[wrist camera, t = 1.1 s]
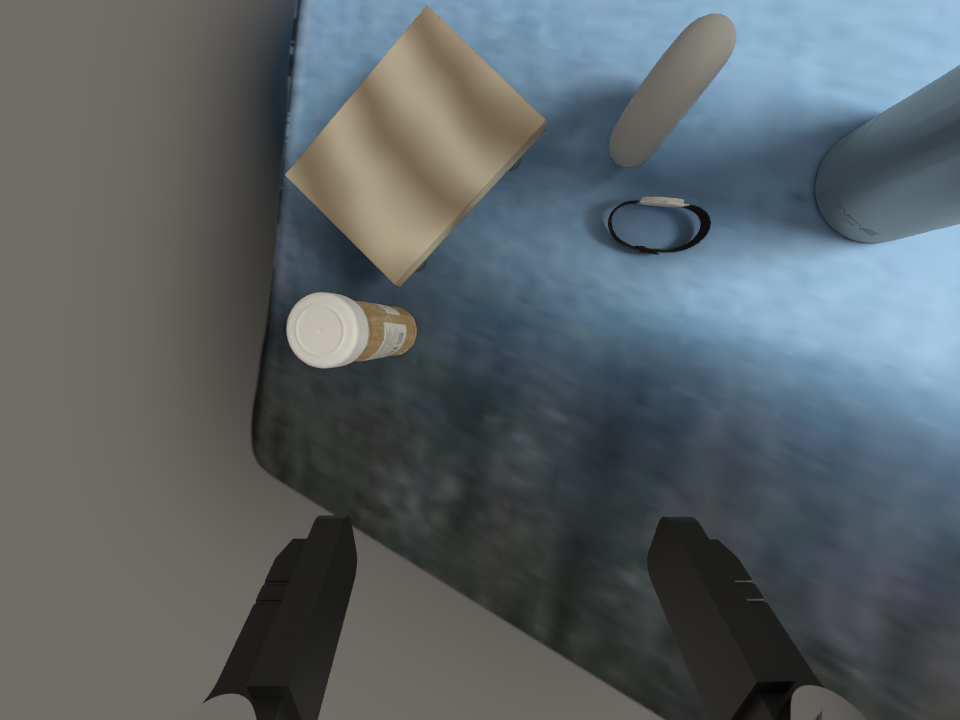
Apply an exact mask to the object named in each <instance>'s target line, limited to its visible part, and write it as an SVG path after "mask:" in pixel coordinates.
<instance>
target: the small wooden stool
mask: <svg viewBox="0 0 960 720" xmlns="http://www.w3.org/2000/svg"><path fill="white" fill-rule="evenodd" d="M545 125H546V119H545V118H543V117H542V116H541V115H540V114H539V113H538V112H537V111H536V110H535V109H534V108H533V107H532V106H531V105H530V104H529V103H528V102H527V101H526V100H525V99H524V98H523V97H522V96H521V95H520V94H519V93H518V92H516V91H515V90H514V89H513V88H512V87H511V86H510V85H509V84H508V83H507V82H506V81H505V80H504V79H503V78H502V77H501V76H500V75H499V74H498V73H497V72H496V71H495V70H494V69H493V68H492V67H490V66H489V65H488V64H487V63H486V62H485V61H484V60H483V59H482V58H481V57H480V56H479V55H478V54H477V53H476V52H475V51H474V50H473V49H472V48H471V47H470V46H469V45H468V44H467V43H466V42H465V41H463V40H462V39H461V38H460V37H459V36H458V35H457V34H456V33H455V32H454V31H453V30H452V29H451V28H450V27H449V26H448V25H447V24H446V23H445V22H444V21H443V20H442V19H441V18H440V17H439V16H438V15H436V14H435V13H434V12H433V11H432V10H431V9H430V8H429V7H428V6H426V7H425V8H424V10H423V11H422V12H421V13H420V14H419V16H418V17H417V18H416V19H415V20H414V21H413V23H412V24H411V25H410V26H409V27H408V29H407V30H406V31H405V32H404V33H403V35H402V36H401V37H400V38H399V39H398V41H397V42H396V43H395V44H394V45H393V47H392V48H391V49H390V50H389V51H388V53H387V54H386V55H385V56H384V57H383V59H382V60H381V61H380V62H379V63H378V64H377V66H376V67H375V68H374V69H373V70H372V72H371V73H370V74H369V75H368V76H367V78H366V79H365V80H364V81H363V82H362V84H361V85H360V86H359V87H358V88H357V90H356V91H355V92H354V93H353V94H352V96H351V97H350V98H349V99H348V100H347V102H346V103H345V104H344V105H343V106H342V108H341V109H340V110H339V111H338V112H337V113H336V115H335V116H334V117H333V118H332V119H331V121H330V122H329V123H328V124H327V125H326V127H325V128H324V129H323V130H322V131H321V133H320V134H319V135H318V136H317V137H316V139H315V140H314V141H313V142H312V143H311V145H310V146H309V147H308V148H307V149H306V151H305V152H304V153H303V154H302V155H301V156H300V158H299V159H298V160H297V161H296V162H295V164H294V165H293V166H292V167H291V168H290V170H289V171H288V172H287V173H286V174H285V175H286V176H287V177H288V178H289V179H290V180H291V181H292V182H293V183H294V184H295V185H296V186H297V187H298V188H299V189H300V190H301V191H302V192H303V193H304V194H305V195H306V196H307V197H308V198H309V199H310V200H311V201H312V202H313V203H314V204H315V205H316V206H317V207H318V208H319V209H320V210H321V211H322V212H323V213H324V214H325V215H326V216H327V217H328V218H329V219H330V220H331V221H332V222H333V223H334V224H335V225H336V226H337V227H338V228H339V229H340V230H341V231H342V232H343V233H344V234H345V235H346V236H347V237H348V238H349V239H350V240H351V241H352V242H353V243H354V244H355V245H356V246H357V247H358V248H359V249H360V250H361V251H362V252H363V253H364V254H365V255H366V256H367V257H368V258H369V259H370V260H371V261H372V262H373V263H374V264H375V265H376V266H377V267H378V268H379V269H380V270H381V271H382V272H383V273H384V274H385V275H386V276H387V277H388V278H389V279H390V280H391V281H392V282H393V283H394V284H395V285H398V286H400V287H401V286H402V284H403V283H404V282H405V281H406V280H407V279H408V278H409V277H410V276H411V275H412V274H413V273H414V272H418V271H421V270H422V269H423V268H424V266H425V264H426V259H427V257H428V256H429V255H430V254H431V253H432V252H433V251H434V250H435V249H436V248H437V247H438V246H439V244H440V243H441V242H442V241H443V240H444V239H445V238H446V237H447V236H448V235H449V234H450V233H451V231H452V230H453V229H454V228H455V227H456V226H457V225H458V224H459V223H460V222H461V221H462V220H463V219H464V217H465V216H466V215H467V214H468V213H469V212H470V211H471V210H472V209H473V208H474V207H475V206H476V204H477V203H478V202H479V201H480V200H481V199H482V198H483V197H484V196H485V195H486V194H487V193H488V192H489V190H490V189H491V188H492V187H493V186H494V185H495V184H496V183H497V182H498V181H499V180H500V179H501V177H502V176H503V175H504V174H505V173H506V172H507V171H511V170H514V169H515V168H517V167H518V165H519V164H520V161H521V156H522V155H523V154H524V153H525V152H526V150H527V149H528V148H529V147H530V146H531V145H532V144H533V143H534V142H535V141H536V140H537V139H538V137H539V136H540V135H541V134H542V133H543V132H544V131H545Z"/></svg>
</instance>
